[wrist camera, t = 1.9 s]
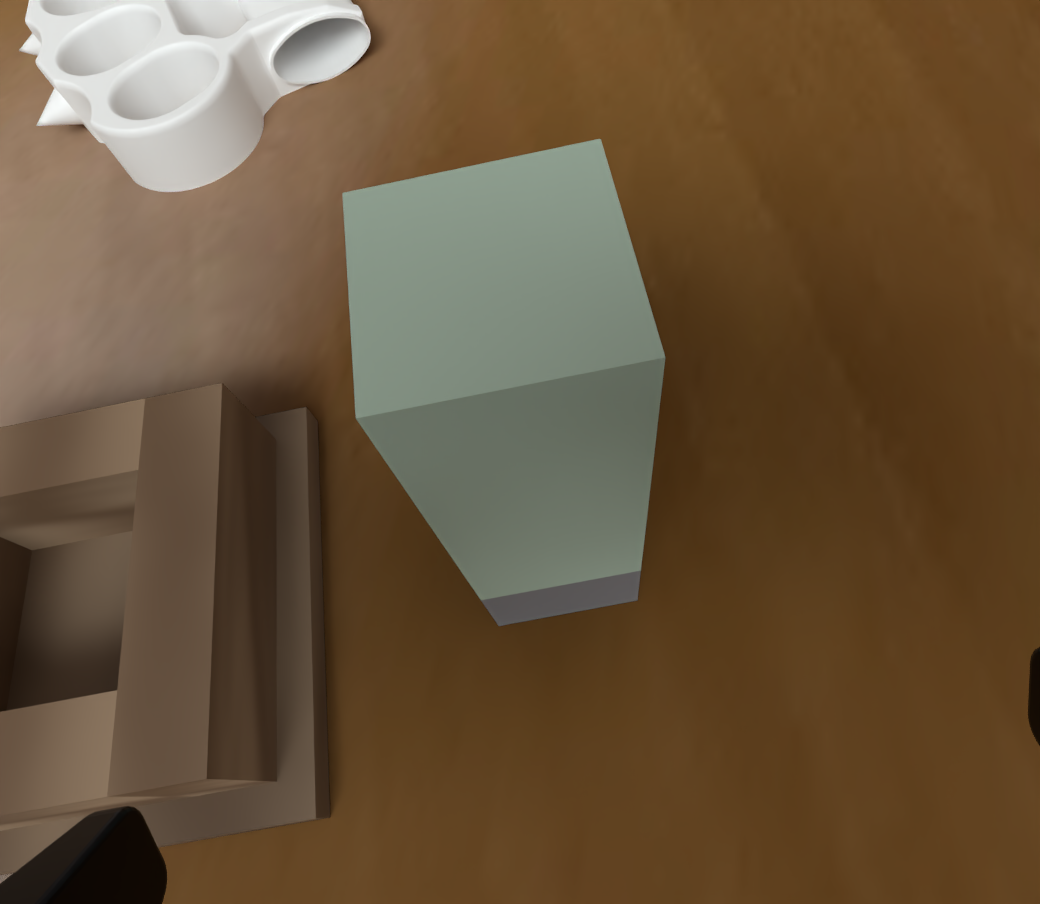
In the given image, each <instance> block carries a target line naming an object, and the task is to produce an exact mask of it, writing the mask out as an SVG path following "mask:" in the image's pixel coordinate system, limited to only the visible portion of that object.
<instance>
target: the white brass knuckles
mask: <svg viewBox="0 0 1040 904" xmlns="http://www.w3.org/2000/svg"><path fill="white" fill-rule="evenodd" d="M25 22H26V24H27V26H28V27H29V29H30V30H31V31H32V35H31V36H30V37H29V38H28V40H27V41H26V42H25V43H24V45H23V46H22V47H21V48H20V50H19V51H21V52H25V53H29V54H33V55H37V56H38V57H37V59H36V65H37V66H38V68H39V69H40V71H41V72H42V73H43V74H44V76H45V77H46V78H47V79H48V81H49V82H50V83H51V84H52V86H53V87H54V90H53V92H52V94H51V96H50V99H49V101H48V103H47V105H46V107H45V109H44V111H43V113H42V115H41V117H40V119H39V121H38V124H37V126H50V125H77V124H83V125H84V126H85V127H86V128H87V129H88V130H89V131H90V133H91V134H92V135H93V136H94V137H95V138H96V139H97V140H98V142H100V143H105V144H106V146H107V147H108V148H109V149H110V151H111V152H112V153H113V154H114V156H115V157H116V158H117V160H118V161H119V162H120V163H121V165H122V166H123V167H124V169H125V170H126V171H127V172H128V174H129V175H130V176H131V178H132V179H133V180H134V181H135V182H136V183H137V184H139V185H140V186H142V187H145V188H147V189H151V190H155V191H161V192H178V191H185V190H190V189H194V188H198V187H201V186H204V185H207V184H209V183H211V182H214V181H216V180H218V179H220V178H222V177H223V176H225V175H227V174H228V173H230V172H231V171H233V170H234V169H235V168H236V167H238V166H239V165H240V164H241V163H242V162H243V161H244V160H245V159H246V158H247V157H248V156H249V155H250V154H251V153H252V151H253V150H254V148H255V147H256V145H257V144H258V142H259V140H260V137H261V135H262V131H263V126H264V115H265V113H266V112H267V111H268V110H269V109H270V108H271V107H272V106H273V104H274V103H275V102H276V101H277V100H278V99H279V98H280V97H281V96H284V95H286V94H288V93H291V92H293V91H295V90H298V89H300V88H302V87H305V86H307V85H309V84H313V83H318V82H322V81H326V80H329V79H331V78H333V77H336V76H338V75H340V74H341V73H343V72H344V71H346V70H347V69H349V68H350V67H351V66H353V65H354V64H355V63H356V62H357V61H358V60H359V59H360V58H361V57H362V55H363V54H364V53H365V52H366V50H367V49H368V47H369V44H370V39H371V35H370V30H369V28H368V26H367V24H366V23H365V20H364V17H363V14H362V11H361V9H360V8H359V6H358V5H354V4H353V3H352V1H351V0H29V3H28V8H27V13H26V18H25Z"/></svg>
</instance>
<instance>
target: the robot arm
mask: <svg viewBox="0 0 1040 904" xmlns="http://www.w3.org/2000/svg"><path fill="white" fill-rule="evenodd" d="M1028 719H1029V724H1030V727H1031V730H1032V733H1033V735H1034V737H1035V739H1036V741H1037V742H1038V744H1039V745H1040V647H1039V648H1037V649H1035V651H1034V652H1033V654H1032V656H1031V660H1030V678H1029V700H1028ZM166 884H167V870H166V865H165V862H164V859H163V857H162V855H161V853H160V851H159V849H158V846H157V844H156V842H155V840H154V838H153V836H152V834H151V832H150V830H149V827H148V825H147V823H146V821H145V819H144V817H143V815H142V813H141V812H140V811H139V810H138V809H136V808H135V807H132V806H123V807H117V808H111V809H106V810H100V811H97V812H93V813H91V814H89V815H88V816H86V817H85V818H83V819H82V820H81V821H80V822H78V823H77V824H76V825H74V826H73V827H72V828H71V829H69V830H68V831H67V832H66V833H64V834H63V835H62V836H60V837H59V838H58V839H57V840H55V841H54V842H53V843H52V844H50V845H49V846H48V847H46V848H45V849H44V850H43V851H41V852H40V853H39V854H38V855H36V856H35V857H34V858H32V859H31V860H30V861H29V862H27V863H26V864H25V865H24V866H22V867H21V868H20V869H18V870H17V871H16V872H15V873H13V874H12V875H11V876H10V877H8V878H7V879H6V880H4V881H3V882H2V883H1V884H0V904H162V902H163V899H164V895H165V891H166Z"/></svg>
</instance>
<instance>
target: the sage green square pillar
mask: <svg viewBox="0 0 1040 904" xmlns="http://www.w3.org/2000/svg"><path fill="white" fill-rule="evenodd" d="M343 209H344V226H345V243H346V260H347V277H348V294H349V311H350V328H351V345H352V362H353V379H354V396H355V413H356V420H357V421H358V422H359V424H360V425H361V427H362V428H363V430H364V431H365V433H366V434H367V436H368V437H369V438H370V440H371V441H372V443H373V444H374V446H375V447H376V449H377V450H378V451H379V453H380V454H381V456H382V457H383V459H384V460H385V462H386V463H387V465H388V466H389V467H390V469H391V470H392V472H393V473H394V475H395V476H396V478H397V479H398V481H399V482H400V483H401V485H402V486H403V488H404V489H405V491H406V492H407V494H408V495H409V496H410V498H411V499H412V501H413V502H414V504H415V505H416V507H417V508H418V510H419V511H420V512H421V514H422V515H423V517H424V518H425V520H426V521H427V523H428V524H429V526H430V527H431V528H432V530H433V531H434V533H435V534H436V536H437V537H438V539H439V540H440V542H441V543H442V544H443V546H444V547H445V549H446V550H447V552H448V553H449V555H450V556H451V557H452V559H453V560H454V562H455V563H456V565H457V566H458V568H459V569H460V571H461V572H462V573H463V575H464V576H465V578H466V579H467V581H468V582H469V584H470V585H471V587H472V588H473V589H474V591H475V592H476V594H477V595H478V597H479V598H480V600H481V601H482V603H483V604H484V605H485V607H486V608H487V610H488V611H489V613H490V614H491V616H492V617H493V618H494V620H495V621H496V623H497V624H498V626H502V625H507V624H513V623H518V622H523V621H529V620H534V619H540V618H545V617H551V616H556V615H561V614H567V613H572V612H578V611H583V610H589V609H594V608H599V607H605V606H610V605H616V604H621V603H627V602H632V601H637V600H638V591H639V582H640V574H641V565H642V556H643V548H644V539H645V530H646V522H647V513H648V504H649V495H650V487H651V478H652V469H653V461H654V452H655V443H656V435H657V426H658V417H659V408H660V400H661V391H662V382H663V374H664V365H665V354H664V351H663V348H662V344H661V341H660V338H659V334H658V331H657V327H656V324H655V321H654V317H653V314H652V311H651V307H650V304H649V300H648V297H647V294H646V290H645V287H644V284H643V280H642V277H641V273H640V270H639V267H638V263H637V260H636V257H635V253H634V250H633V247H632V243H631V240H630V236H629V233H628V230H627V226H626V223H625V220H624V216H623V213H622V209H621V206H620V203H619V199H618V196H617V193H616V189H615V186H614V182H613V179H612V176H611V172H610V169H609V166H608V162H607V159H606V156H605V152H604V149H603V145H602V142H601V139H597V140H592V141H587V142H583V143H578V144H573V145H568V146H564V147H559V148H554V149H549V150H545V151H540V152H535V153H530V154H526V155H521V156H516V157H511V158H507V159H502V160H497V161H492V162H488V163H483V164H478V165H473V166H469V167H464V168H459V169H454V170H450V171H445V172H440V173H435V174H431V175H426V176H421V177H416V178H412V179H407V180H402V181H397V182H393V183H388V184H383V185H378V186H374V187H369V188H364V189H359V190H355V191H350V192H345V193H343Z"/></svg>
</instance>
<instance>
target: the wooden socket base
mask: <svg viewBox="0 0 1040 904" xmlns="http://www.w3.org/2000/svg"><path fill="white" fill-rule="evenodd" d="M123 806H132V807H135V808H136V809H138V810H139V811H140V812H141V813H142V815H143V817H144V819H145V821H146V823H147V825H148V827H149V830H150V832H151V834H152V836H153V838H154V840H155V842H156V844H157V846H158V847H164V846H170V845H175V844H181V843H187V842H193V841H198V840H204V839H210V838H215V837H221V836H227V835H232V834H238V833H244V832H250V831H255V830H261V829H267V828H272V827H278V826H284V825H289V824H295V823H301V822H307V821H312V820H318V819H324V818H329V817H330V797H329V765H328V733H327V701H326V669H325V637H324V604H323V572H322V540H321V508H320V476H319V444H318V421H317V420H316V418H315V417H314V416H313V415H312V413H311V412H310V411H309V410H308V408H307V407H303V408H298V409H293V410H288V411H283V412H278V413H273V414H268V415H263V416H258V417H254V416H253V415H252V414H251V413H250V412H249V410H248V409H247V408H246V407H245V406H244V405H243V404H242V403H241V402H240V401H239V400H238V399H237V398H236V397H235V396H234V395H233V394H232V393H231V392H230V391H229V390H228V388H227V387H226V386H225V385H224V384H223V383H219V384H214V385H209V386H204V387H199V388H194V389H189V390H184V391H179V392H174V393H169V394H164V395H159V396H154V397H149V398H144V399H139V400H134V401H129V402H125V403H120V404H115V405H110V406H105V407H100V408H95V409H90V410H85V411H80V412H75V413H70V414H65V415H60V416H55V417H50V418H45V419H40V420H35V421H30V422H25V423H20V424H15V425H10V426H5V427H0V875H4V874H10V873H15V872H16V871H17V870H18V869H20V868H21V867H22V866H24V865H25V864H26V863H27V862H29V861H30V860H31V859H32V858H34V857H35V856H36V855H38V854H39V853H40V852H41V851H43V850H44V849H45V848H46V847H48V846H49V845H50V844H52V843H53V842H54V841H55V840H57V839H58V838H59V837H60V836H62V835H63V834H64V833H66V832H67V831H68V830H69V829H71V828H72V827H73V826H74V825H76V824H77V823H78V822H80V821H81V820H82V819H83V818H85V817H86V816H88V815H89V814H91V813H93V812H97V811H100V810H106V809H111V808H117V807H123Z"/></svg>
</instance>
